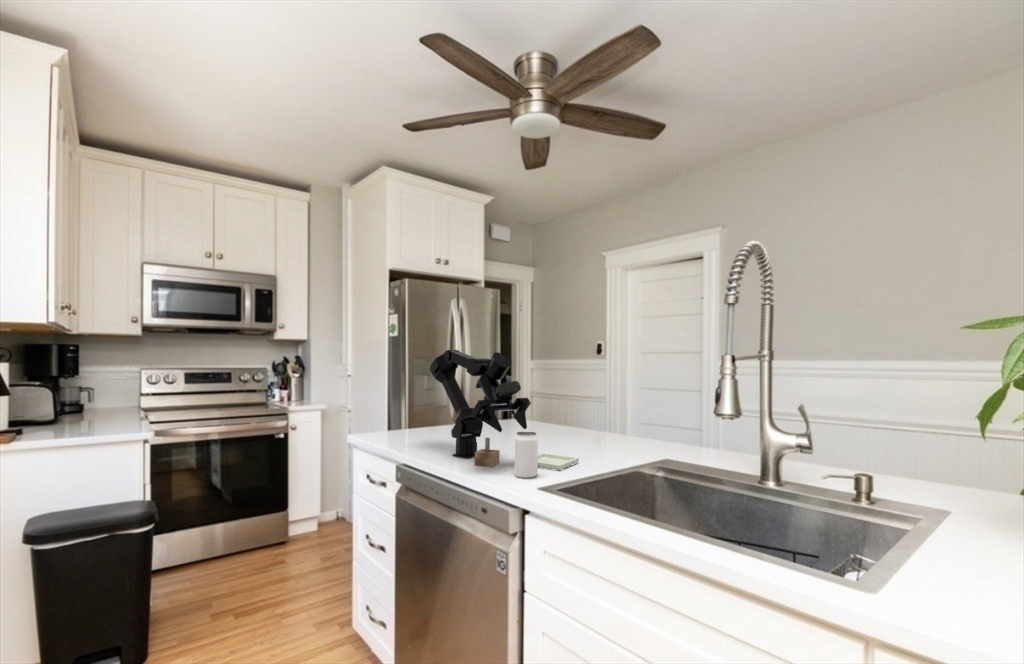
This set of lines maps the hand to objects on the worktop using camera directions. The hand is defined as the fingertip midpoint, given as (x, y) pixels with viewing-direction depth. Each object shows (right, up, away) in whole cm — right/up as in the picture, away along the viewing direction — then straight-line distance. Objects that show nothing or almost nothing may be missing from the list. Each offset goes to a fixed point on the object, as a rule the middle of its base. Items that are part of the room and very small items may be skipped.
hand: (513, 429), depth 143 cm
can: (+3, -12, -5) cm, 14 cm away
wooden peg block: (-8, -12, +8) cm, 17 cm away
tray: (+12, -13, +10) cm, 20 cm away
